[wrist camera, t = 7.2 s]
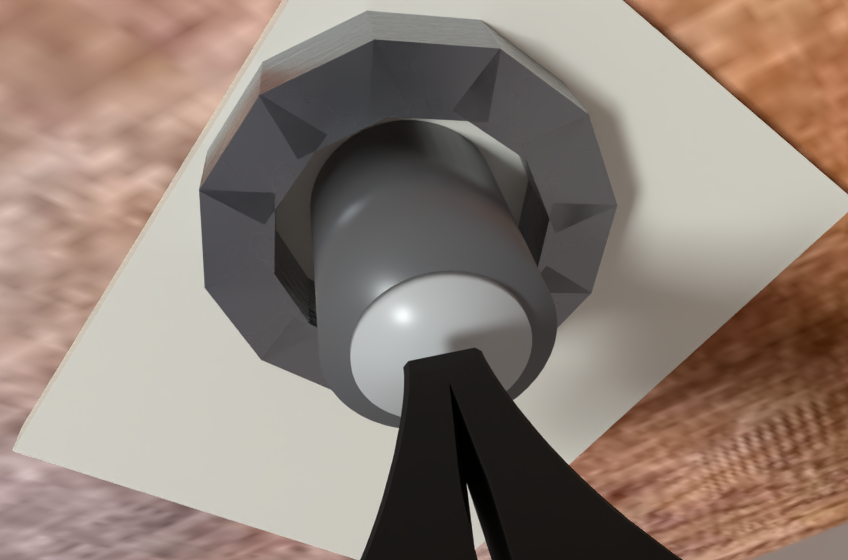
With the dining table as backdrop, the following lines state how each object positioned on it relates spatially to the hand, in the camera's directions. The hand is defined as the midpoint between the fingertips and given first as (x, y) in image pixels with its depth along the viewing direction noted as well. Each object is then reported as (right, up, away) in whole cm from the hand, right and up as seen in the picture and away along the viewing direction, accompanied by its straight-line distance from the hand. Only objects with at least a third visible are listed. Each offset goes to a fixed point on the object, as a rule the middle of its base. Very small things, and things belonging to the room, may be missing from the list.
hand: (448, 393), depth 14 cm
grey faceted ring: (-1, +4, +6) cm, 7 cm away
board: (0, +1, +9) cm, 9 cm away
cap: (-1, +4, +6) cm, 7 cm away
